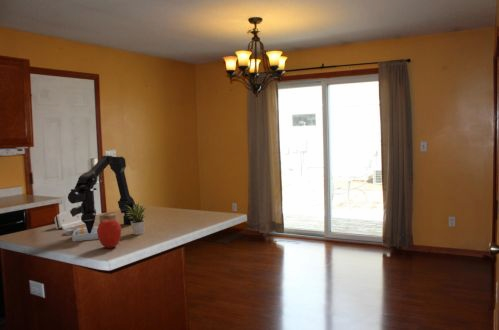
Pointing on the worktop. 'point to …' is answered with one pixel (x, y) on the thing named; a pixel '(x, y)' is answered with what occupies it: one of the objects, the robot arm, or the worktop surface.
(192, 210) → the worktop surface
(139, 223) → the house plant
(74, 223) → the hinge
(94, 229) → the beige and orange bar
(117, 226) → the red jar
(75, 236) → the tray
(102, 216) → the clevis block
